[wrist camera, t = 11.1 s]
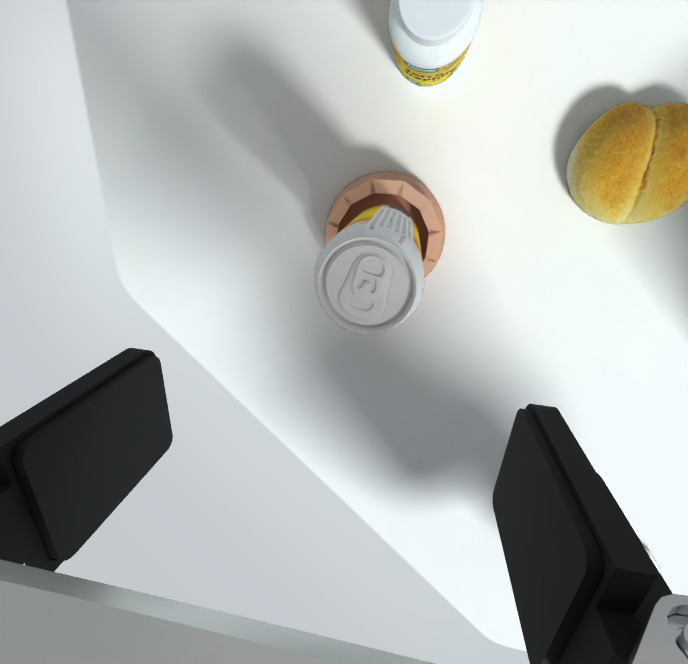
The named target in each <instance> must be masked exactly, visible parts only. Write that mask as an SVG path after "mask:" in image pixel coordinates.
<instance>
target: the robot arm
mask: <svg viewBox="0 0 688 664" xmlns="http://www.w3.org/2000/svg"><path fill="white" fill-rule="evenodd" d="M172 438H173V436H172V429H171V423H170V417H169V411H168V405H167V399H166V393H165V387H164V381H163V374H162V369H161V363H160V360H159V358H157V357H156V356H155V354H154V352H152V351H150V350H142V349H135V348H128V349H126V350H124V351H123V352H121V353H120V354H118V355H116V356H115V357H113V358H111V359H110V360H108V361H107V362H105V363H103V364H102V365H100V366H98V367H97V368H95V369H93V370H92V371H90V372H89V373H87V374H85V375H84V376H82V377H81V378H79V379H77V380H76V381H74V382H72V383H71V384H69V385H67V386H66V387H64V388H62V389H61V390H59V391H58V392H56V393H54V394H53V395H51V396H49V397H48V398H46V399H45V400H43V401H41V402H40V403H38V404H36V405H35V406H33V407H32V408H30V409H28V410H27V411H25V412H23V413H22V414H20V415H19V416H17V417H15V418H14V419H12V420H10V421H9V422H7V423H5V424H4V425H2V426H1V427H0V664H435V663H431V662H427V661H423V660H419V659H415V658H410V657H406V656H402V655H398V654H394V653H390V652H386V651H382V650H378V649H374V648H370V647H366V646H362V645H358V644H353V643H349V642H345V641H341V640H337V639H333V638H329V637H325V636H321V635H317V634H313V633H309V632H304V631H300V630H296V629H292V628H288V627H284V626H280V625H276V624H272V623H267V622H263V621H259V620H255V619H251V618H246V617H242V616H238V615H234V614H230V613H226V612H221V611H217V610H213V609H209V608H205V607H200V606H196V605H192V604H188V603H184V602H180V601H175V600H171V599H167V598H162V597H159V596H154V595H150V594H146V593H142V592H138V591H133V590H129V589H125V588H121V587H116V586H112V585H108V584H104V583H99V582H95V581H91V580H86V579H82V578H78V577H73V576H69V575H65V574H61V573H56V572H54V571H55V570H56V569H57V568H58V567H59V565H60V564H61V563H62V562H63V561H65V560H68V559H70V558H71V557H72V556H73V555H74V554H75V553H76V552H77V551H78V550H79V549H80V548H81V547H82V545H83V544H84V543H85V542H86V541H87V540H88V539H89V538H90V537H91V535H92V534H93V533H94V532H95V531H96V530H97V529H98V527H99V526H100V525H101V524H102V523H103V522H104V521H105V519H107V517H108V516H109V515H110V514H111V513H112V512H113V511H114V510H115V508H116V507H117V506H118V505H119V504H120V503H121V502H122V501H123V499H124V498H125V497H126V496H127V495H128V494H129V493H130V492H131V491H132V489H133V488H134V487H135V486H136V485H137V484H138V483H139V482H140V480H141V479H142V478H143V477H144V476H145V475H146V474H147V472H148V471H149V470H150V469H151V468H152V467H153V466H154V464H156V462H157V461H158V460H159V459H160V458H161V457H162V456H163V454H164V453H165V452H166V451H167V450H168V449H169V447H170V445H171V442H172ZM493 508H494V512H495V517H496V521H497V525H498V530H499V534H500V538H501V542H502V547H503V551H504V555H505V559H506V564H507V568H508V572H509V577H510V581H511V585H512V589H513V594H514V598H515V602H516V606H517V611H518V615H519V619H520V624H521V628H522V632H523V636H524V641H525V645H526V649H527V653H528V658H529V661H530V664H688V596H685V595H677V594H672V592H671V590H670V589H669V587H668V586H667V584H666V582H665V581H664V579H663V577H662V576H661V571H660V567H659V565H658V564H657V562H656V560H655V558H654V557H653V556H652V554H651V553H650V552H649V551H648V550H647V549H646V548H645V547H644V546H643V545H642V543H641V541H640V540H639V538H638V536H637V535H636V533H635V532H634V530H633V528H632V527H631V525H630V523H629V522H628V520H627V518H626V517H625V515H624V514H623V512H622V510H621V509H620V507H619V505H618V504H617V502H616V500H615V499H614V497H613V496H612V494H611V492H610V491H609V489H608V487H607V486H606V484H605V482H604V481H603V479H602V478H601V477H600V475H599V474H598V473H596V472H595V470H594V468H593V467H592V465H591V463H590V462H589V460H588V458H587V457H586V455H585V453H584V452H583V450H582V448H581V447H580V445H579V443H578V442H577V440H576V438H575V437H574V435H573V433H572V432H571V430H570V429H569V427H568V425H567V424H566V422H565V420H564V419H563V417H562V415H561V414H560V412H559V410H558V409H557V408H555V407H549V406H542V405H535V404H529V405H528V406H527V407H526V409H519V410H518V412H517V414H516V418H515V421H514V424H513V428H512V431H511V434H510V438H509V441H508V444H507V448H506V451H505V455H504V458H503V461H502V465H501V468H500V471H499V475H498V478H497V481H496V485H495V488H494V492H493ZM24 563H25V565H23V564H24Z"/></svg>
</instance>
